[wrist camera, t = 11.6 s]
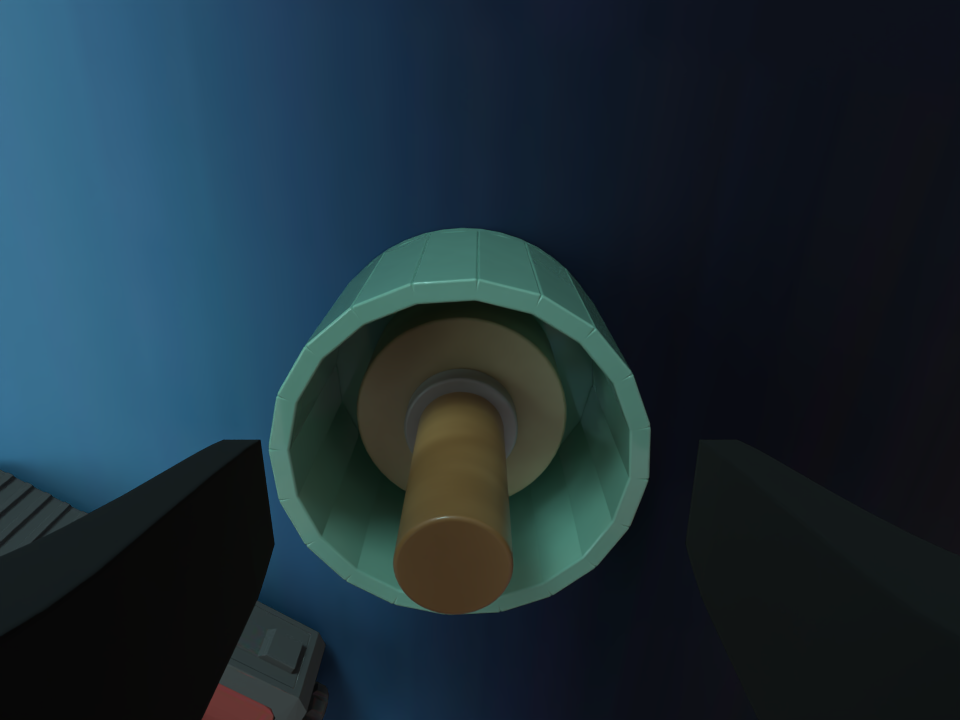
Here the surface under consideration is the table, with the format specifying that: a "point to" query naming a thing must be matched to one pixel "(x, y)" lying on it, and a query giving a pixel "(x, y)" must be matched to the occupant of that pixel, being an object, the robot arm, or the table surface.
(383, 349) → the rubber stamp
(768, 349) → the table surface
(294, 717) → the red grey blocky piece
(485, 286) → the bucket
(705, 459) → the robot arm
